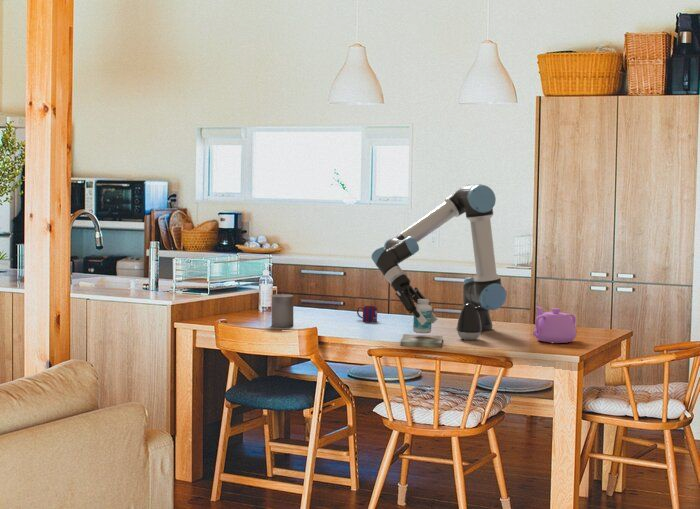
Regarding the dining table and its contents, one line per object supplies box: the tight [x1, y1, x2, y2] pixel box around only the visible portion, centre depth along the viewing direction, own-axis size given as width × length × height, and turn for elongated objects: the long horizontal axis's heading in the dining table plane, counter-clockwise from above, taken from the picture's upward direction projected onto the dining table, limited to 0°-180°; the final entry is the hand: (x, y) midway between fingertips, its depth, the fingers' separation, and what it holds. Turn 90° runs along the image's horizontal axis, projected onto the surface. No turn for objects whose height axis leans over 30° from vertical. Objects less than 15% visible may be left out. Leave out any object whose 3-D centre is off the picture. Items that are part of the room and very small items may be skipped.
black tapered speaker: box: [456, 303, 483, 341], centre depth 388 cm, size 10×10×15 cm
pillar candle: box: [271, 293, 294, 328], centre depth 415 cm, size 10×10×15 cm
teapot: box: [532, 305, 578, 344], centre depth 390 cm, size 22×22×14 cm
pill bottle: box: [412, 298, 433, 334], centre depth 383 cm, size 8×7×14 cm
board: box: [399, 333, 443, 348], centre depth 378 cm, size 16×20×2 cm
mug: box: [356, 305, 378, 323], centre depth 438 cm, size 7×10×7 cm
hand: (429, 322), depth 381 cm, fingers closed on pill bottle, 7 cm apart
